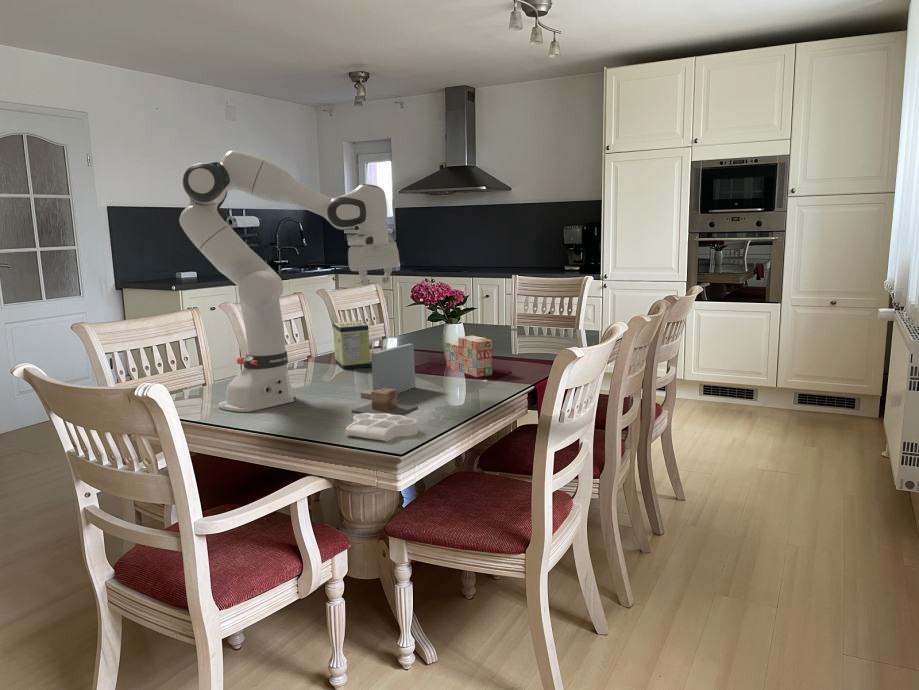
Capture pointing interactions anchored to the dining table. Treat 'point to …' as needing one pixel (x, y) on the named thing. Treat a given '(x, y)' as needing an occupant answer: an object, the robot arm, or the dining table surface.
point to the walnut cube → (384, 399)
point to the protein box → (351, 344)
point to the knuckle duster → (381, 426)
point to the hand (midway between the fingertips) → (376, 284)
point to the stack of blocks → (470, 355)
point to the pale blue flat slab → (393, 369)
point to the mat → (396, 411)
